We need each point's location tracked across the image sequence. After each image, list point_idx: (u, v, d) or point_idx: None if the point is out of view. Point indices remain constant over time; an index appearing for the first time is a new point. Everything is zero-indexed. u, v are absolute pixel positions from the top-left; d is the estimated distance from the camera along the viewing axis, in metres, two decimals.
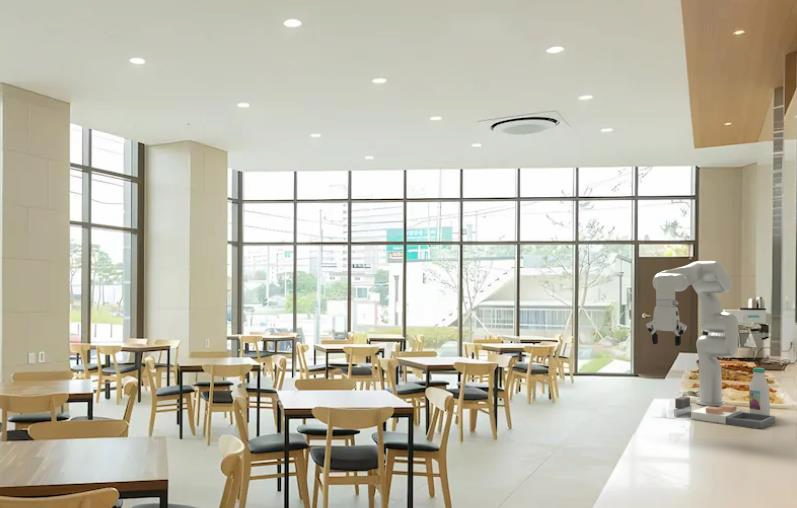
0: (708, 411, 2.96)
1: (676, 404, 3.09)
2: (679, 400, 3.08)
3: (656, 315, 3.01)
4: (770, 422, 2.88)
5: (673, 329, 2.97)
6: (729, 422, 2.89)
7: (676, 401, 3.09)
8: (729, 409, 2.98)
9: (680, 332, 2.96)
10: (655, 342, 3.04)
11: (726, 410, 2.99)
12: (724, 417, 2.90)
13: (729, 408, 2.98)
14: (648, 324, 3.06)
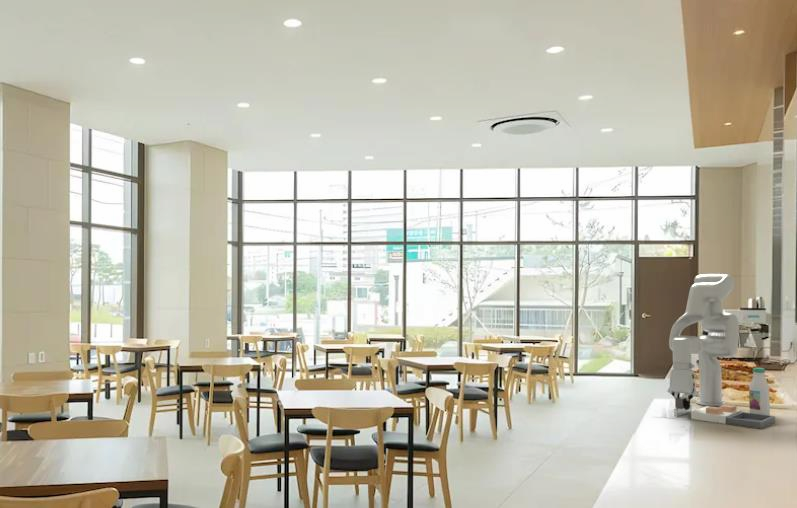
0: (708, 411, 2.96)
1: (676, 404, 3.09)
2: (679, 400, 3.08)
3: (673, 377, 3.11)
4: (770, 422, 2.88)
5: (689, 392, 3.07)
6: (729, 422, 2.89)
7: (676, 401, 3.09)
8: (729, 409, 2.98)
9: (689, 397, 3.08)
10: None
11: (726, 410, 2.99)
12: (724, 417, 2.90)
13: (729, 408, 2.98)
14: (669, 390, 3.14)
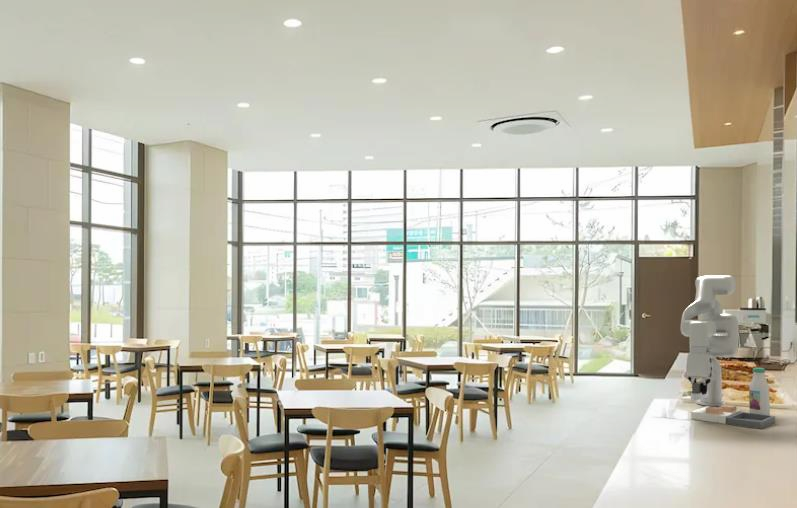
0: (708, 411, 2.96)
1: (693, 388, 3.03)
2: (696, 384, 3.02)
3: (690, 361, 3.06)
4: (770, 422, 2.88)
5: (707, 376, 3.01)
6: (729, 422, 2.89)
7: (693, 385, 3.03)
8: (729, 409, 2.98)
9: (706, 381, 3.02)
10: None
11: (726, 410, 2.99)
12: (724, 417, 2.90)
13: (729, 408, 2.98)
14: (686, 374, 3.09)
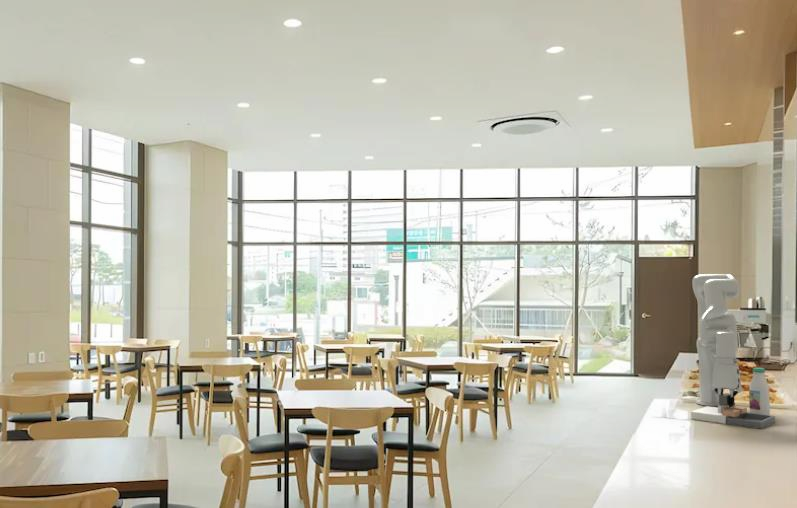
0: (725, 413, 2.92)
1: (720, 400, 2.96)
2: (723, 396, 2.95)
3: (716, 373, 2.98)
4: (770, 422, 2.88)
5: (734, 388, 2.94)
6: (729, 422, 2.89)
7: (720, 397, 2.96)
8: (740, 411, 2.95)
9: (734, 393, 2.95)
10: None
11: None
12: (724, 417, 2.90)
13: (739, 409, 2.95)
14: (712, 386, 3.01)
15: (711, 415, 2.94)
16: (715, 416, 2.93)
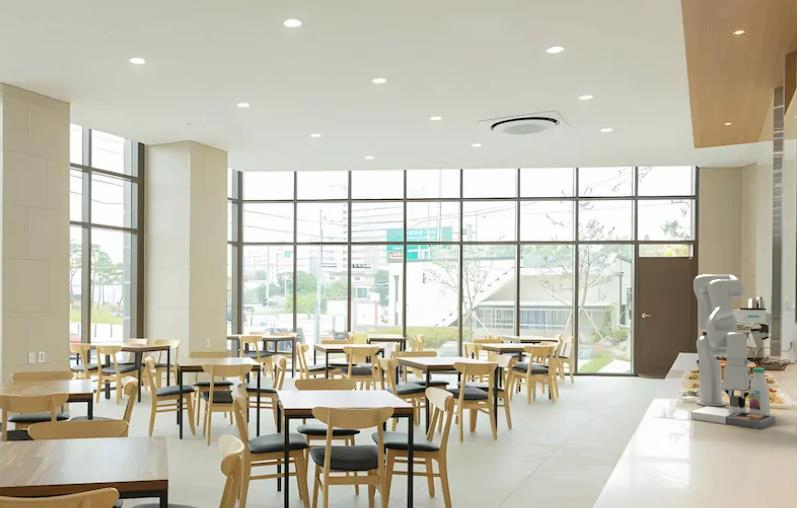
0: None
1: (731, 401, 2.93)
2: (734, 397, 2.92)
3: (727, 374, 2.95)
4: (770, 422, 2.88)
5: (745, 389, 2.91)
6: (729, 422, 2.89)
7: (731, 398, 2.93)
8: None
9: (745, 394, 2.92)
10: None
11: (751, 417, 2.92)
12: (724, 417, 2.90)
13: None
14: (722, 387, 2.98)
15: (711, 415, 2.94)
16: (715, 416, 2.93)
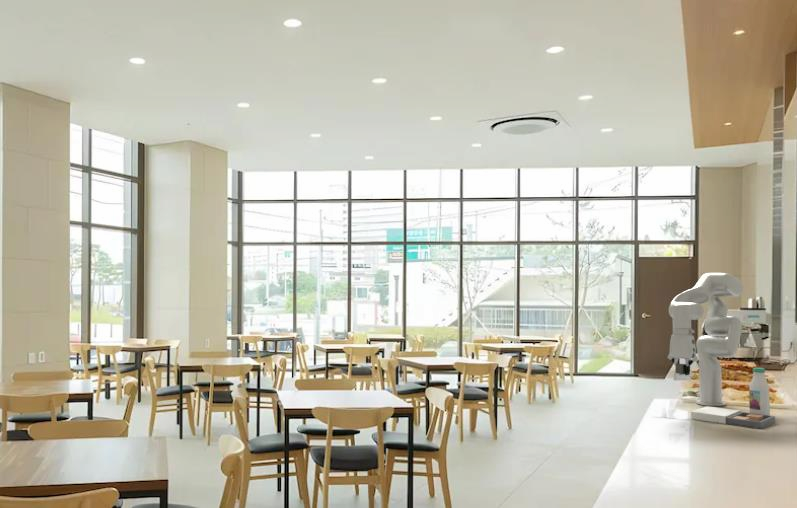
0: None
1: (676, 369, 3.09)
2: (679, 365, 3.08)
3: (673, 343, 3.12)
4: (770, 422, 2.88)
5: (689, 357, 3.07)
6: (729, 422, 2.89)
7: (676, 366, 3.09)
8: None
9: (689, 362, 3.08)
10: None
11: (751, 417, 2.92)
12: (724, 417, 2.90)
13: None
14: (669, 356, 3.15)
15: (711, 415, 2.94)
16: (715, 416, 2.93)
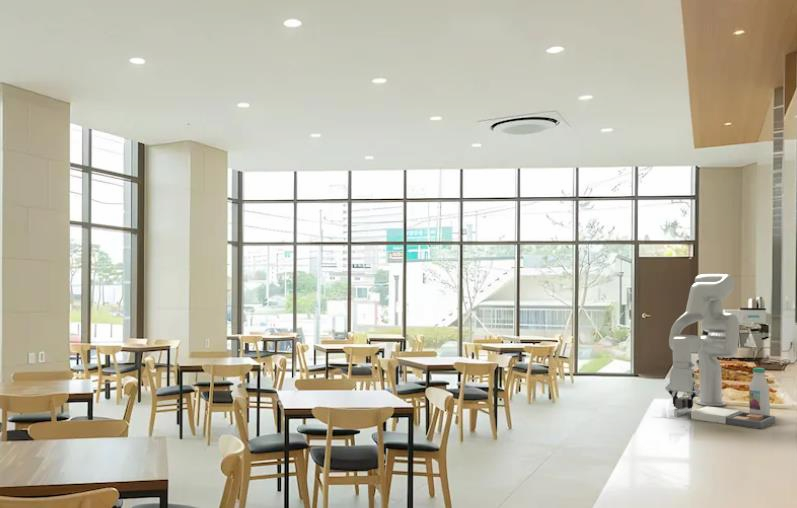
0: None
1: (676, 404, 3.09)
2: (679, 400, 3.08)
3: (673, 376, 3.11)
4: (770, 422, 2.88)
5: (689, 391, 3.07)
6: (729, 422, 2.89)
7: (676, 401, 3.09)
8: None
9: (692, 395, 3.07)
10: None
11: (751, 417, 2.92)
12: (724, 417, 2.90)
13: None
14: (667, 387, 3.15)
15: (711, 415, 2.94)
16: (715, 416, 2.93)
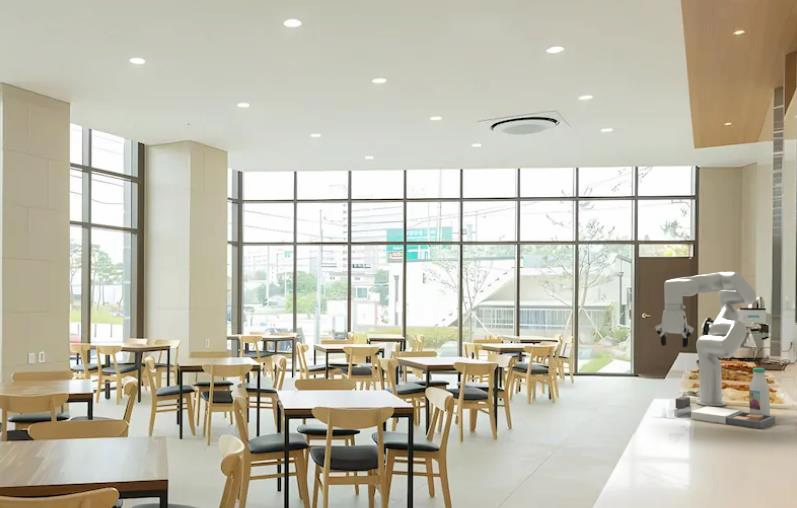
0: None
1: (676, 404, 3.09)
2: (679, 400, 3.08)
3: (665, 318, 3.20)
4: (770, 422, 2.88)
5: (681, 331, 3.16)
6: (729, 422, 2.89)
7: (676, 401, 3.09)
8: None
9: (687, 334, 3.15)
10: (664, 344, 3.22)
11: (751, 417, 2.92)
12: (724, 417, 2.90)
13: None
14: (657, 327, 3.25)
15: (711, 415, 2.94)
16: (715, 416, 2.93)
